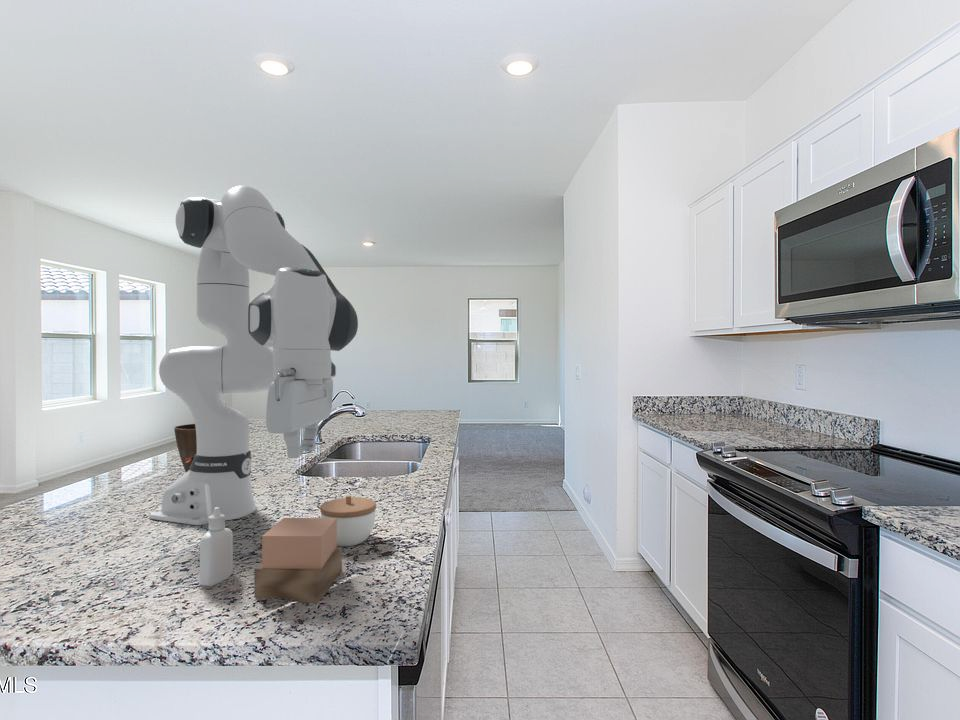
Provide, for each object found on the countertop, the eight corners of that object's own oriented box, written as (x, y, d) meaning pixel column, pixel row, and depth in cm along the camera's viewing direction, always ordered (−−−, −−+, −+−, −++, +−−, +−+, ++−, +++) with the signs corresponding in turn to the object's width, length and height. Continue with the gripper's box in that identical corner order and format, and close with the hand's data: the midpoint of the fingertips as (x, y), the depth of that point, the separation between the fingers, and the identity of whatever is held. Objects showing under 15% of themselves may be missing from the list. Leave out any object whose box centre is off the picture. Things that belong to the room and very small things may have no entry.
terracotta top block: (262, 568, 81) (262, 535, 81) (283, 547, 90) (283, 517, 90) (321, 568, 81) (321, 536, 81) (336, 547, 90) (336, 518, 90)
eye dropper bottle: (193, 581, 87) (193, 508, 87) (228, 571, 91) (228, 502, 91) (203, 589, 84) (203, 514, 84) (239, 578, 88) (239, 507, 88)
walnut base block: (254, 601, 81) (254, 568, 81) (285, 574, 91) (285, 545, 91) (317, 605, 80) (317, 571, 80) (341, 577, 90) (341, 548, 90)
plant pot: (161, 484, 152) (161, 428, 152) (197, 472, 167) (197, 421, 167) (208, 486, 150) (208, 429, 150) (240, 474, 164) (241, 423, 164)
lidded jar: (347, 557, 98) (348, 506, 98) (308, 546, 104) (308, 498, 104) (387, 540, 107) (387, 494, 107) (348, 530, 113) (349, 486, 113)
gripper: (298, 369, 75) (298, 467, 75) (339, 366, 95) (338, 443, 95) (254, 369, 75) (254, 467, 75) (304, 366, 95) (303, 443, 95)
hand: (301, 453), depth 85 cm, fingers open, 5 cm apart
